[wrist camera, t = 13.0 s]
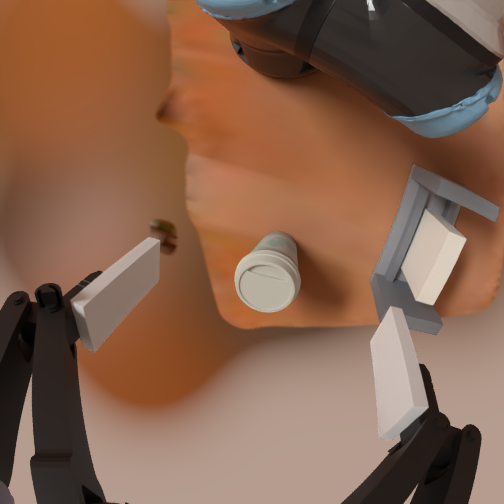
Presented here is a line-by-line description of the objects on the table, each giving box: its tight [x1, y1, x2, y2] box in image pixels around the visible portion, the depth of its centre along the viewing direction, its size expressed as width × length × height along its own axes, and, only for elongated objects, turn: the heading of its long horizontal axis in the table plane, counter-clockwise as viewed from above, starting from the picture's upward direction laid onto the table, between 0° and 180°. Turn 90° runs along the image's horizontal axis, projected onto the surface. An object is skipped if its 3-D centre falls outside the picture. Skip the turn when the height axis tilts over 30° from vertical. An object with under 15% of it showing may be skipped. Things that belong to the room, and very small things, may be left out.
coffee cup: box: [235, 231, 301, 313], centre depth 40 cm, size 9×9×12 cm
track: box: [370, 164, 500, 335], centre depth 34 cm, size 20×10×11 cm, turn 169°
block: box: [400, 208, 466, 305], centre depth 34 cm, size 10×3×10 cm, turn 168°
